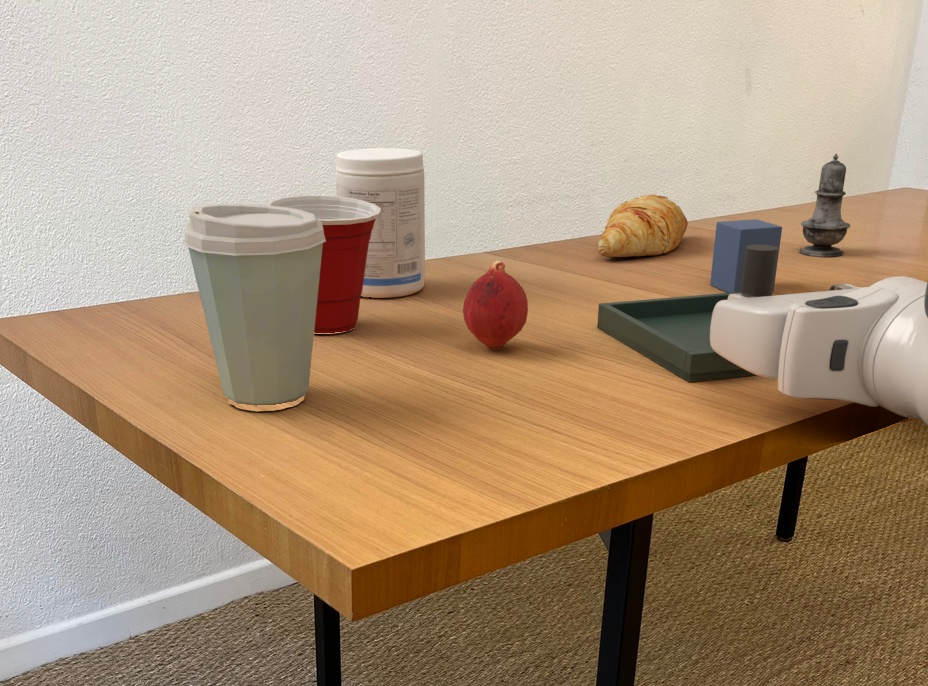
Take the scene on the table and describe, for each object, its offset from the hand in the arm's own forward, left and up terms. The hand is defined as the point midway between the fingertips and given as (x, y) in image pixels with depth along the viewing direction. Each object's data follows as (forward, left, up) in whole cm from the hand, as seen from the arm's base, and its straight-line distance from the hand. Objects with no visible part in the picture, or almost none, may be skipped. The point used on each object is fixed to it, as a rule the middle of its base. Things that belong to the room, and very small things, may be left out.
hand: (786, 298), depth 86 cm
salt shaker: (-34, -42, -7) cm, 55 cm away
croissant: (-14, -52, -7) cm, 54 cm away
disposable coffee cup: (+42, -6, -7) cm, 43 cm away
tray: (0, -9, -6) cm, 11 cm away
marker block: (-14, -28, -6) cm, 32 cm away
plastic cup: (+33, -26, -7) cm, 43 cm away
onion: (+20, -14, -7) cm, 25 cm away
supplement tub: (+24, -40, -7) cm, 47 cm away
